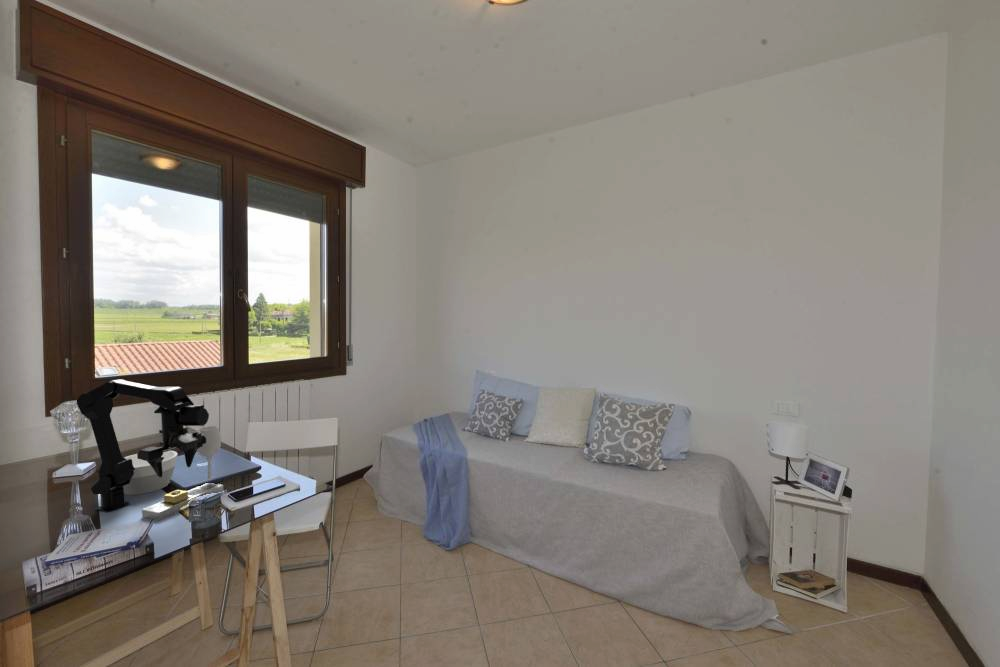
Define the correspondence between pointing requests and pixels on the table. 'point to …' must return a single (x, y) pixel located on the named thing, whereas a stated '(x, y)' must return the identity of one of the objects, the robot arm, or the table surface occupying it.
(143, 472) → the bowl
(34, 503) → the table surface
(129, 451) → the table surface
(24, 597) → the table surface
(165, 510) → the rail
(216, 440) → the wineglass
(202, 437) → the robot arm
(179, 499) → the nut block
